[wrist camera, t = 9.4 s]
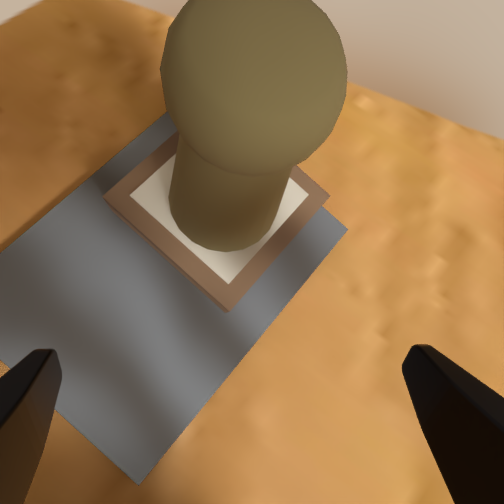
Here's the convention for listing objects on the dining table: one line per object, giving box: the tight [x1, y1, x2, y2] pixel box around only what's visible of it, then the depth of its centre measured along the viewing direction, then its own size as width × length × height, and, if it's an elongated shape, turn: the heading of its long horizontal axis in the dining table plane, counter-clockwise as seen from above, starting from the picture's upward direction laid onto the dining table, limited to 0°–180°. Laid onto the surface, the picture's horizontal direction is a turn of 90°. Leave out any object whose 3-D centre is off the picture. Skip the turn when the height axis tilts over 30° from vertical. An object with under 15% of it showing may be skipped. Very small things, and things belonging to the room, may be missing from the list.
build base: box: [0, 111, 348, 486], centre depth 19 cm, size 19×14×3 cm
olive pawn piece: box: [160, 0, 347, 252], centre depth 13 cm, size 6×6×11 cm
